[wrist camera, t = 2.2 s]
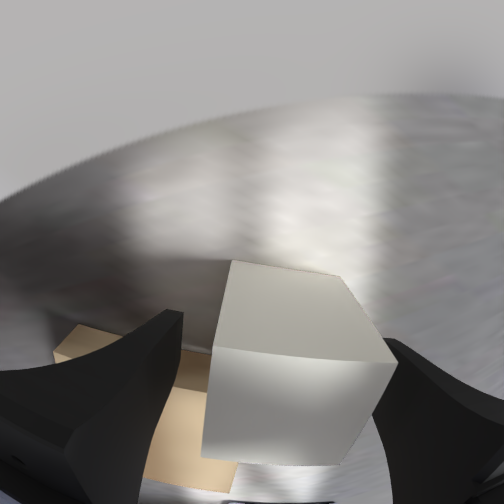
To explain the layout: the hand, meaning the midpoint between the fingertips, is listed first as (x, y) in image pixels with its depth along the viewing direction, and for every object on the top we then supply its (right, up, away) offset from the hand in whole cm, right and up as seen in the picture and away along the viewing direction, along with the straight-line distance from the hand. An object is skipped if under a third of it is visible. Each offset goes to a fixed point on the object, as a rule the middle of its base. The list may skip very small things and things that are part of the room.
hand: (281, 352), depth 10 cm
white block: (0, +1, +3) cm, 3 cm away
